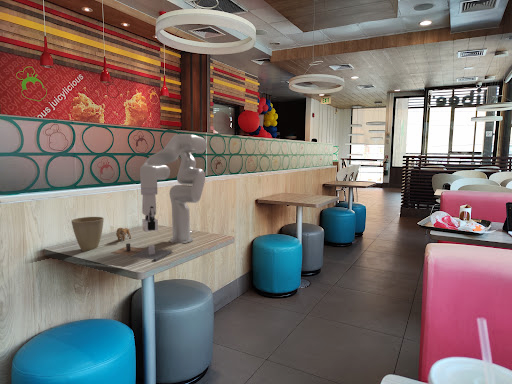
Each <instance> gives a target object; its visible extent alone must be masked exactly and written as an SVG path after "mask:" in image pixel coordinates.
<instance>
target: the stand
mask: <svg viewBox="0 0 512 384" xmlns="http://www.w3.org/2000/svg"><path fill="white" fill-rule="evenodd" d="M146 249H147V248H145V247H135V246H131V243H130V242H129V243H126V244H125V246H124V247H122V248H120V249H117V250H114V251H112V252H111V254H114V255H115V254H116V255H125V256H133V255H135V254H137V253H139V252H141V251H144V250H146Z"/></svg>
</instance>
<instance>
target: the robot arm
mask: <svg viewBox="0 0 512 384" xmlns="http://www.w3.org/2000/svg"><path fill="white" fill-rule="evenodd" d="M207 144H208V143H207V141H206V139H205V138H204V137H201V136H198V135H195V134H191V133H184V134H183V133H181V134H178V133H177V134H175V135H173V136H172V137H171V138H170V140H169V141H168V143H167V144H166V145H165V147H164V148H163V149H161V150H159V151H157V152H156V153H153V154H152V155H150V156H149V157H148V158H147V159H146V160H145V161H144V163H143V164H142V166H140V168H139V169H140V170H139V173H140V195H142V199H141V200H142V201H141V202H142V207H141V210H142V211H141V213H142V215H143V216H145V218H144V219H148V220H149V222H148V230H155V219H156V218H155V217H156V215H157V198H156V196H157V195H158V194H159V193H158V181H163V180H166V179H168V178H170V176H171V169H170V167H169V166H168V164H171V163H173V162H175V161H177V160H178V158H179V157H180V159H181V162H180V165H179V169H178V171H177V172H178V173H177V176H176V181H177V183H178V184H177V185H176V184H175V185H173V186H172V187H171V188H170V189H169V199H170V203H171V218H172V219H171V222H172V223H171V225H172V237H170V238H169V241H170V243H171V244H173V243H174V244H188V243H191V242H192V241H193V240H194V238H193V237H192V236H191V235H192V234H193V231H192V230H191V228H190V226H191V223H190V208H189V206H188V204H187V203H189V204H190V203H191V204H196V203H199V201H200V200H201V197H202V194H203V191H204V186H205V184H206V183H205V182H206V173H205V171H204V169H203V168H202V169H201V168H199V167H198V168H197V167H196V166H197V160H196V159H195V157H194V156H193V154H194V153H195V154H202V153H204V152H205V151H206V150H207V147H208V145H207Z"/></svg>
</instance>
